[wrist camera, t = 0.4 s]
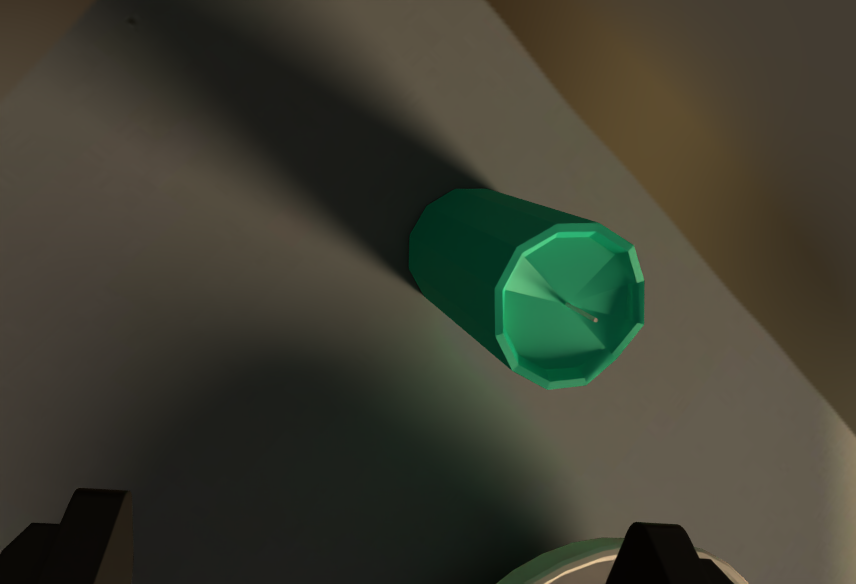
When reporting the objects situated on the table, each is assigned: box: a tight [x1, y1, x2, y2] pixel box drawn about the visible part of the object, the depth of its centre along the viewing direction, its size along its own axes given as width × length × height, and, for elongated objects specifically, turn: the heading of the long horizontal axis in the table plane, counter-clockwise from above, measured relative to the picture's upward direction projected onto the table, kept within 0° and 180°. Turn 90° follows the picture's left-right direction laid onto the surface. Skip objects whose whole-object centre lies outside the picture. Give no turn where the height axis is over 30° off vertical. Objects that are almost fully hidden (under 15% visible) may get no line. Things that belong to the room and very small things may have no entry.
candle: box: [409, 189, 644, 390], centre depth 30 cm, size 6×6×12 cm
